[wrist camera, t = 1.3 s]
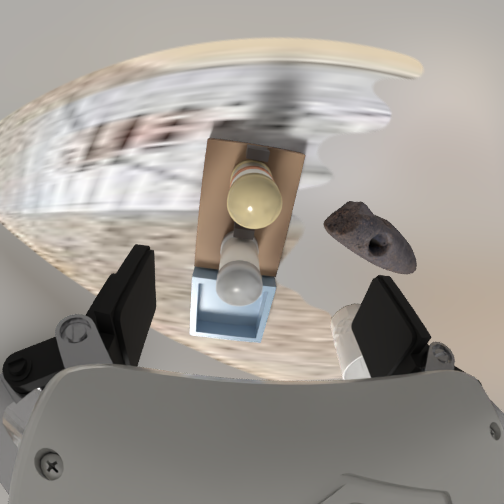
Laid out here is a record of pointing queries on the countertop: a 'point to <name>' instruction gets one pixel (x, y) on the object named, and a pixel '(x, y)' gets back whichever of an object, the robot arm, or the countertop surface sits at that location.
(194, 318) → the tray
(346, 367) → the white cup
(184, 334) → the countertop surface
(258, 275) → the grey rounded cylinder
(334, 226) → the perforated stone tool
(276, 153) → the fuse holder
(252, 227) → the marked fuse
